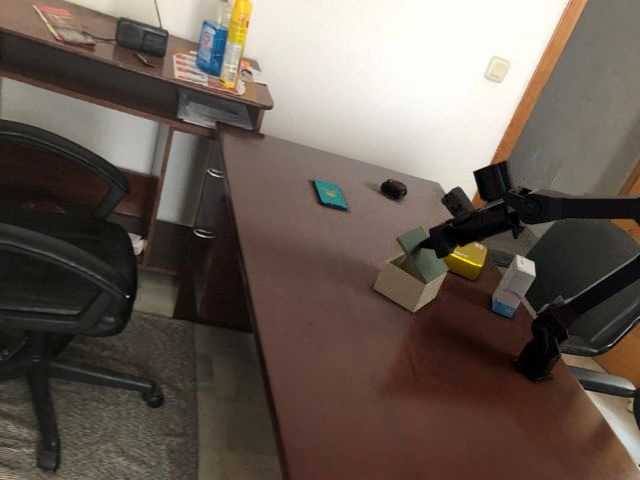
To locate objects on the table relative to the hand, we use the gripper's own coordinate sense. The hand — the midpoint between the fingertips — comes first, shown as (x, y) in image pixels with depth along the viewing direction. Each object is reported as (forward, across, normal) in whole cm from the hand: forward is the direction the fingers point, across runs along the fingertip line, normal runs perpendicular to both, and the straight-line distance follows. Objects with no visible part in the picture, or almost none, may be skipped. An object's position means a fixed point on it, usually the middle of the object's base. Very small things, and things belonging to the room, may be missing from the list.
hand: (419, 245), depth 140 cm
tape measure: (+28, -49, -12) cm, 58 cm away
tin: (+7, 0, +9) cm, 11 cm away
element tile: (+8, -30, +8) cm, 32 cm away
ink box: (-5, -20, +22) cm, 30 cm away
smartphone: (+34, -26, -18) cm, 47 cm away
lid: (0, 0, +2) cm, 2 cm away
